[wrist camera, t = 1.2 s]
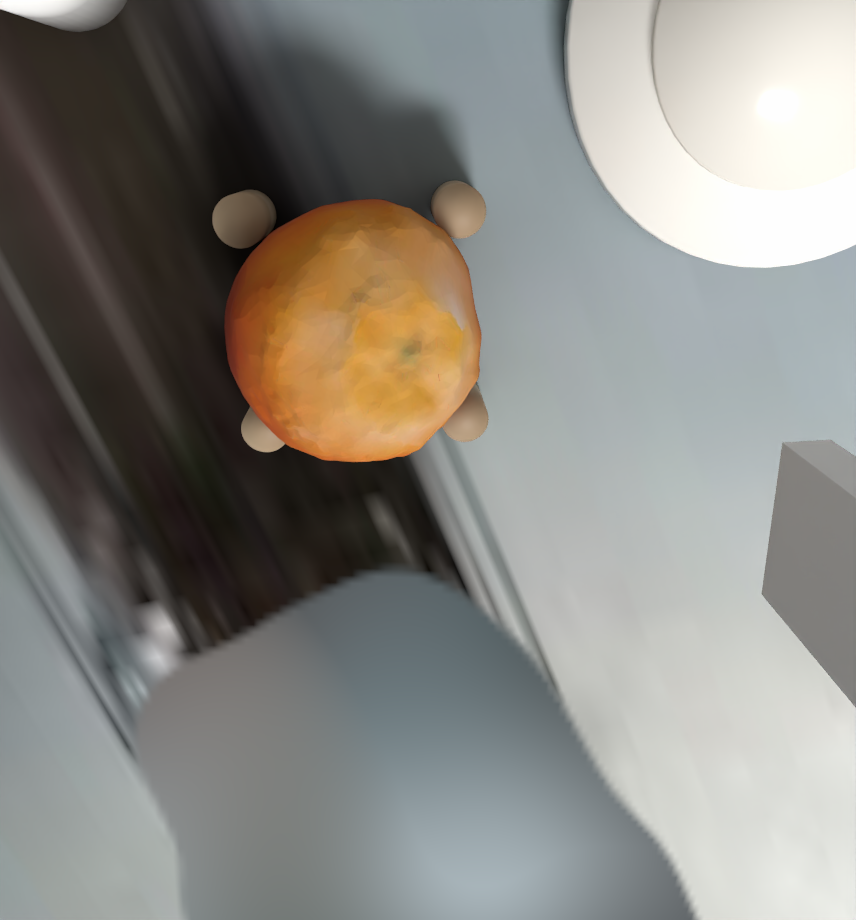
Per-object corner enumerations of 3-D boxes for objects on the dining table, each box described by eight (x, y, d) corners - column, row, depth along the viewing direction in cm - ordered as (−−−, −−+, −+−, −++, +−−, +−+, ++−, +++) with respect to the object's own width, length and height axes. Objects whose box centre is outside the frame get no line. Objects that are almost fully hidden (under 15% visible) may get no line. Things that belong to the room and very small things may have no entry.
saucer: (558, 272, 27) (566, 279, 26) (569, -230, 22) (580, -253, 21) (950, 253, 28) (978, 259, 27) (1054, -246, 23) (1094, -269, 21)
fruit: (174, 180, 25) (278, 206, 18) (391, 188, 29) (534, 212, 23) (186, 424, 28) (279, 515, 21) (381, 398, 32) (504, 469, 26)
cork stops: (256, 428, 29) (244, 453, 27) (225, 190, 26) (209, 195, 24) (481, 417, 29) (488, 440, 27) (477, 179, 26) (485, 183, 24)
